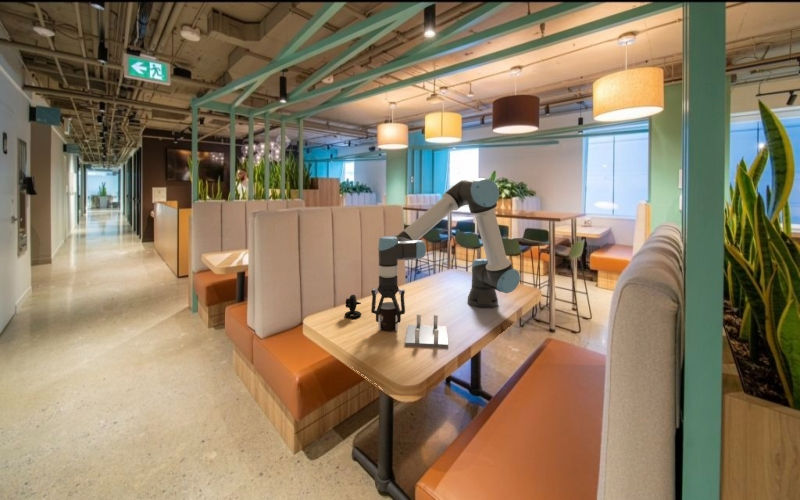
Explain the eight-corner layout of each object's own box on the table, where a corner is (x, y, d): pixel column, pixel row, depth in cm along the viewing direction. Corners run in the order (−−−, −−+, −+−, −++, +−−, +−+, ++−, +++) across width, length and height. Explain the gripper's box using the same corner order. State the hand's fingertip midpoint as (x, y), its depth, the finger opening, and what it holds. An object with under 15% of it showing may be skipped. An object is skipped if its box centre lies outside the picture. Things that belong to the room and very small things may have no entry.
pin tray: (446, 328, 142) (446, 314, 141) (448, 347, 125) (448, 331, 124) (408, 327, 143) (408, 313, 142) (405, 345, 127) (405, 329, 126)
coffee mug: (378, 324, 146) (377, 302, 144) (398, 323, 147) (398, 301, 145) (379, 336, 135) (378, 312, 133) (400, 335, 135) (400, 311, 134)
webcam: (346, 312, 160) (345, 292, 158) (362, 313, 160) (361, 292, 158) (343, 319, 152) (342, 297, 150) (359, 319, 152) (359, 297, 150)
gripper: (412, 273, 139) (412, 326, 143) (366, 272, 141) (367, 324, 145) (411, 278, 132) (411, 334, 136) (362, 277, 134) (363, 332, 138)
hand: (388, 329), depth 141 cm, fingers closed on coffee mug, 6 cm apart
